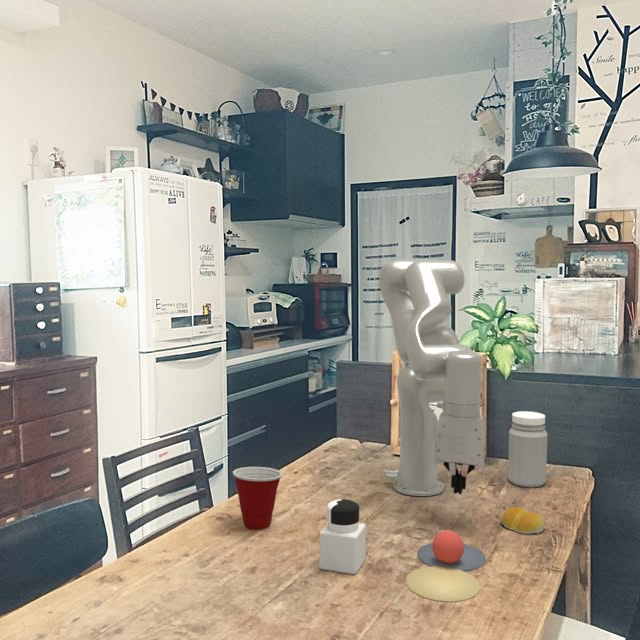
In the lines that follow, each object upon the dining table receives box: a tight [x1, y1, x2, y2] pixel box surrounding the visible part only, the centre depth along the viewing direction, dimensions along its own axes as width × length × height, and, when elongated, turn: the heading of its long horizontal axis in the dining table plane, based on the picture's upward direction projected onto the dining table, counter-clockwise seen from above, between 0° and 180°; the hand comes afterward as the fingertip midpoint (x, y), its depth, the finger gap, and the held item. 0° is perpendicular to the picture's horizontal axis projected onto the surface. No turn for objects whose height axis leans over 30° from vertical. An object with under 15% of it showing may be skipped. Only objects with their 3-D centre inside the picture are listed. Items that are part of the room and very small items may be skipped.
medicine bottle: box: [318, 498, 367, 575], centre depth 127 cm, size 7×7×12 cm
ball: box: [431, 530, 465, 564], centre depth 128 cm, size 6×6×6 cm
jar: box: [507, 410, 548, 488], centre depth 176 cm, size 10×10×18 cm
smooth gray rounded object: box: [417, 542, 487, 572], centre depth 131 cm, size 13×13×1 cm
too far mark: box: [405, 566, 481, 603], centre depth 120 cm, size 13×13×1 cm
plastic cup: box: [232, 466, 284, 531], centre depth 147 cm, size 11×11×12 cm
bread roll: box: [500, 506, 545, 535], centre depth 146 cm, size 8×9×4 cm
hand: (458, 491), depth 146 cm, fingers closed
